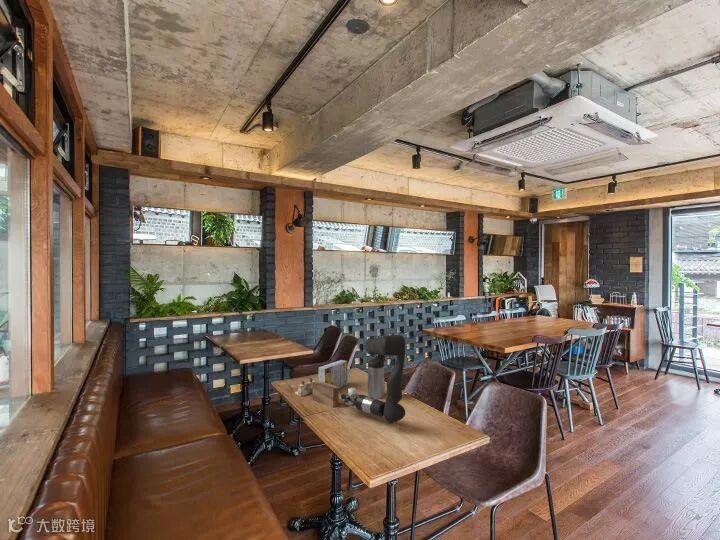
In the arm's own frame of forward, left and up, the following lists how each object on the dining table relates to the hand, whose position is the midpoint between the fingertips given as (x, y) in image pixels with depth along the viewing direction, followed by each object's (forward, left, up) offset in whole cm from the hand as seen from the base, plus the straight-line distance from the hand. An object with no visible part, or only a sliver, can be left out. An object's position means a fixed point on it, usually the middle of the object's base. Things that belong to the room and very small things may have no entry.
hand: (341, 396), depth 196 cm
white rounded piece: (-13, -5, -7) cm, 15 cm away
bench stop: (-3, -32, -7) cm, 33 cm away
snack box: (-19, -26, -7) cm, 33 cm away
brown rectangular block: (0, -13, -7) cm, 14 cm away
